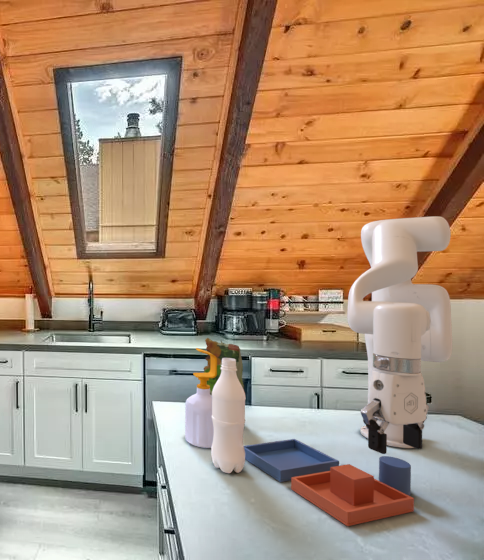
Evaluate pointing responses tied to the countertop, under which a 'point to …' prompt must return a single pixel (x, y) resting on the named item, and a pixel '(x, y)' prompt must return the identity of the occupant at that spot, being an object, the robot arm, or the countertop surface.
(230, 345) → the pouch
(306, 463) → the blue tray
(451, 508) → the countertop surface
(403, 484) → the blue cylinder
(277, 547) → the countertop surface
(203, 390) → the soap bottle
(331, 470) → the block
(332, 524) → the countertop surface
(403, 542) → the countertop surface
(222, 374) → the water bottle
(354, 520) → the terracotta tray
